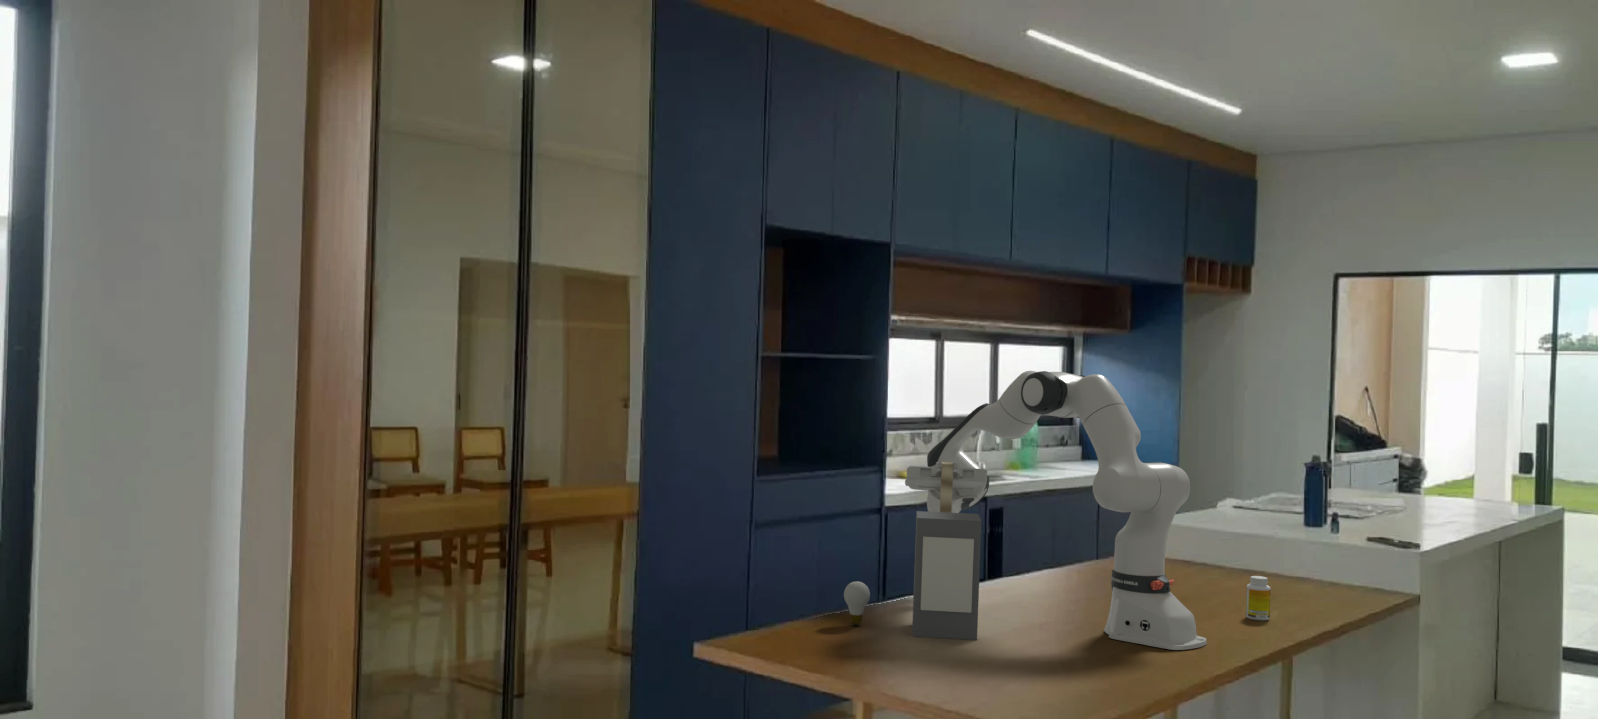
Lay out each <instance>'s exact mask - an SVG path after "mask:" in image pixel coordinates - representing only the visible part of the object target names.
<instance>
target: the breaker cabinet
mask: <svg viewBox="0 0 1598 719" xmlns="http://www.w3.org/2000/svg"><path fill="white" fill-rule="evenodd" d="M915 518H916V520H915V542H914V543H915V544H914V570H913V572H914V573H913V575H914V576H913V593H912V594H913V598H912V600H913V601H912V624H911V625H912V626H911V627H912V637H919V638H936V639H938V638H939V639H953V640H971V641H978V628H979V627H978V626H979V625H978V624H979V622H978V620H979V594H980V593H979V592H980V573H981V572H980V571H981V570H980V569H981V566H980V565H981V547H982V546H981V543H982V542H981V540H982V539H981V538H982V519H981V517H980V515H979V513H969V512H968V513H965V512H964V513H963V512H959V513H947V512H928V511H922V510H916V515H915Z"/></svg>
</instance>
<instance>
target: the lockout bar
mask: <svg viewBox="0 0 1598 719" xmlns="http://www.w3.org/2000/svg"><path fill="white" fill-rule="evenodd" d="M952 484H953V462H942V471H941V492H940V512H947V513H951V510H952Z"/></svg>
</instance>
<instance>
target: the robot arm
mask: <svg viewBox="0 0 1598 719" xmlns="http://www.w3.org/2000/svg"><path fill="white" fill-rule="evenodd" d="M1042 415H1043V416H1050V417H1051V416H1052V417H1057V418H1065V419H1067V418H1068V419H1069V418H1077V419H1079V420H1080V422H1081V424H1082V426H1083V428H1084V430H1085V432H1086V434H1087V435H1088V439H1089V440H1090V442H1091V444H1092V447H1093V448H1094V451H1095V454H1096V457H1097V462H1098V464H1097V465H1098V469H1097V470H1098V471H1097V472H1096V474H1095V475H1094V478H1093V482H1092V493H1093V496H1094V499H1095V501H1096V502H1097V503H1098V505H1099V506H1100V507H1102V508H1104V509H1106V510H1110V511H1114V512H1119V513H1130V514H1129V517H1128V519H1127V521H1126V523H1125V525H1124V526H1123V527H1122V528H1121V529H1120V530H1119V531H1117V533H1116V535H1115V539H1114V556H1113V558H1114V561H1113V569H1112V570H1111V582H1110V584H1111V592H1112V594H1111V600H1110V601H1111V602H1110V607H1109V612H1108V617H1107V620H1106V624H1105V626H1104V630H1103V632H1104V633H1105V634H1107V635H1108V638H1110V639H1112V640H1117V641H1122V642H1127V643H1132V644H1139V645H1144V646H1149V647H1154V648H1160V649H1167V650H1172V651H1180V650H1181V651H1185V650H1192V649H1196V648H1197V649H1198V648H1201V647H1204V646H1206V645H1207V643H1208V642H1207V637H1204V636H1200V635H1197V625H1196V619H1195V616H1194V614H1193V613H1192V611H1190V610H1189V609H1188V608H1187V607H1186V606H1185V605H1184V604H1183V603H1182V602H1181V601H1180V600H1179V599H1178V598H1177V597H1176V596H1175V595H1174V594H1173V593H1172V592H1171V586H1173V585H1175V583H1173V582H1175V581H1176V580H1175V579H1169V578H1168V577H1167V575H1166V573H1165V565H1166V564H1165V561H1166V558H1165V557H1166V547H1167V540H1168V535H1169V532H1170V528H1171V525H1172V524H1173V523H1172V522H1173V521H1174V518H1175V516H1176V514H1177V512H1178V510H1179V509H1180V508H1181V506H1183V505H1184V504H1185V502H1187V500H1188V499H1189V496H1190V494H1191V481H1190V477H1189V475H1188V474H1187V472H1186V471H1185V470H1183V468H1181V467H1179V466H1177V465H1173V464H1170V463H1165V462H1143V461H1142V460H1141V459H1140V458H1139V456H1138V453H1137V447H1138V446H1139V444H1140V441H1141V439H1142V438H1141V437H1142V436H1141V435H1142V434H1141V430H1140V429H1139V427H1138V425H1137V423H1136V421H1135V419H1134V417H1133V416H1132V414H1131V412H1130V410H1129V408H1128V406H1127V405H1126V403H1125V401H1124V399H1123V398H1122V396H1121V395H1120V393H1119V391H1118V390H1117V389H1116V387H1115V386H1114V385H1113V383H1112V382H1111V381H1110V380H1109V379H1108V378H1107V377H1106V376H1104V375H1102V374H1097V373H1093V374H1088V375H1082V374H1081V375H1077V374H1074V373H1068V372H1066V371H1065V372H1064V371H1046V370H1044V371H1035V370H1027V371H1026V370H1025V371H1024V372H1022V373H1020V374H1019V375H1018V376H1017V377H1016V378H1015V379H1014V380H1013V381H1012V382H1011V383H1010V384H1009V385H1008V387H1007V388H1006V389H1005V390H1004V392H1003V393H1002V394H1001V395H1000V397H999V398H998V400H997V401H995V402H993V403H992V404H991V403H987V402H985V403H983V404H981V405H979V406H977V407H976V408H975V409H973V410H972V411H971V412H970V413H969V414H968V415H967V416H966V417H964V418H963V419H962V420H961V421H960V423H959V424H958V425H956V426H955V428H953V429H952V431H950V433H948V434H947V436H945V437H944V438H943V439H942V440H941V441H940V442H939V443H936V444H935V445H934V446H933V447H932V448H931V450H930V451H929V452H928V454H927V456H926V457H927V458H926V459H927V460H926V464H927V466H924V465H923V466H918V465H910V466H908V467H906V479H905V480H904V485H905V486H906V487H909V489H911V490H916V491H927V496H926V508H927V512H940V492H941V471H942V462H953V484H952V510H951V513H961V511H962V510H968V509H971V508H973V507H975V506H976V505H977V504H978V503H980V502H981V501H982V500H983V499H984V497H985V496H986V494H987V493H988V490H989V488H990V475H988V472H987V470H986V469H984V468H982V467H980V466H979V464H977V463H976V462H975V461H974V460H973V459H972V458H971V457H970V456H969V455H968V454H966V452H965V451H964V450H963V444H964V443H965V442H967V441H968V439H970V437H972V435H974V434H975V433H976V432H977V431H982V432H983V431H984V432H986V433H989V434H991V435H992V436H996V437H998V438H1002V439H1006V440H1015V439H1016V440H1017V439H1020V438H1023V437H1024V436H1025V435H1027V434H1028V433H1029V432H1030V431H1031V430H1032V428H1033V427H1035V425H1036V423H1037V421H1038V420H1039V419H1040V417H1041V416H1042Z"/></svg>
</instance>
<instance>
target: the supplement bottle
mask: <svg viewBox="0 0 1598 719" xmlns="http://www.w3.org/2000/svg"><path fill="white" fill-rule="evenodd" d="M1268 579H1269V578H1268V577H1265V576H1262V575H1261V576H1260V575H1252V576H1250V579H1249V583H1248V584H1247V585H1246V591H1245V592H1246V594H1245V596H1246V597H1245V617H1246V618H1247V619H1249V620H1253V621H1262V622H1263V621H1265V622H1266V621H1268V620H1270V617H1271V595H1272V594H1271V590H1272V589H1271V586H1269V585H1268V582H1269V581H1268Z"/></svg>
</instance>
